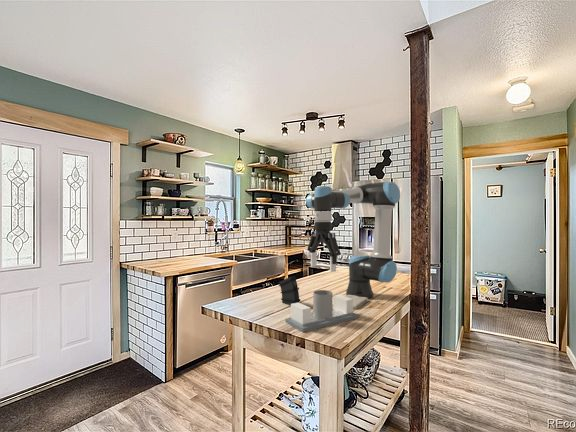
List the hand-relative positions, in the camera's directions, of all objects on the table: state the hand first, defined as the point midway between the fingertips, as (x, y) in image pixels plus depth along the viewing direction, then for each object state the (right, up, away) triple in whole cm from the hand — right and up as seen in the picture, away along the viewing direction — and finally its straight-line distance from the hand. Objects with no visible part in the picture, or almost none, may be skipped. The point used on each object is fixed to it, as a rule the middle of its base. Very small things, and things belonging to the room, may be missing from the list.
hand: (322, 269), depth 133 cm
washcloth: (+18, -23, +25) cm, 39 cm away
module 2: (+10, -20, +6) cm, 24 cm away
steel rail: (0, -21, 0) cm, 21 cm away
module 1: (-10, -20, -6) cm, 24 cm away
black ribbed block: (-15, -23, +24) cm, 36 cm away
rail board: (0, -23, 0) cm, 23 cm away
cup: (0, -21, 0) cm, 21 cm away
